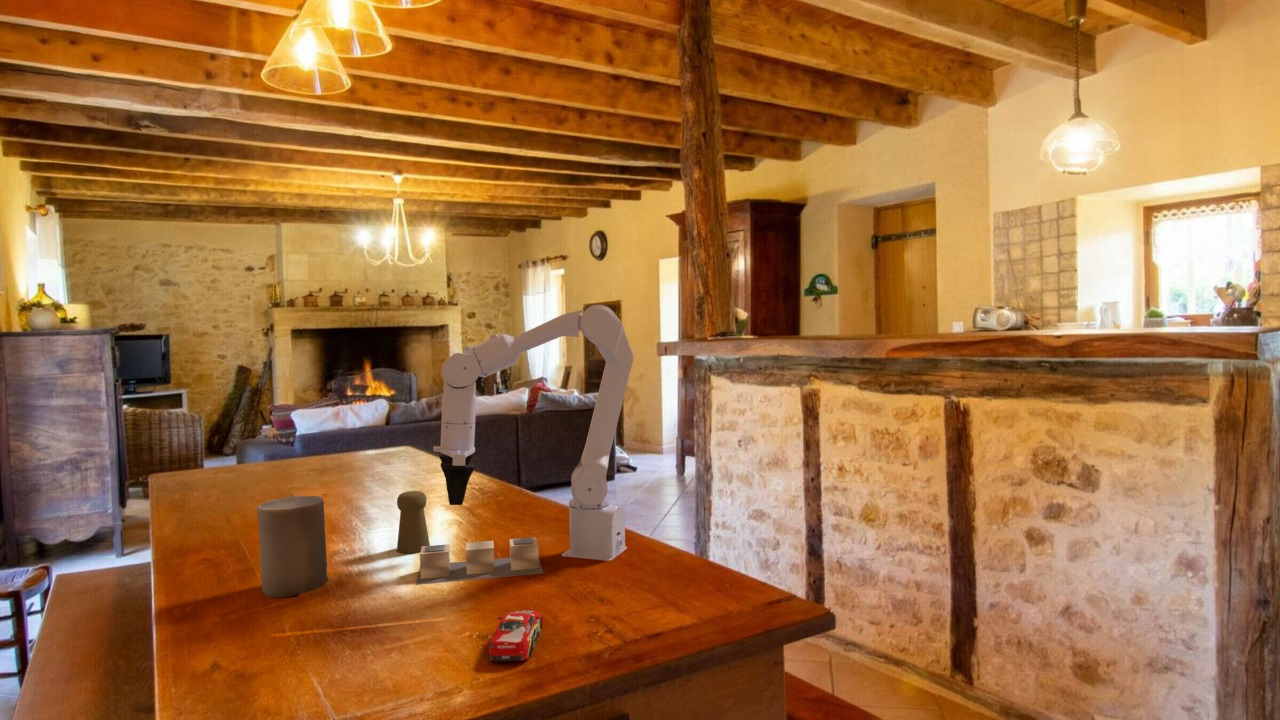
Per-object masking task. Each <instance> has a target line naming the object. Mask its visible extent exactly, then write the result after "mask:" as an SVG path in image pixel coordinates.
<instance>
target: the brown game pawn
mask: <svg viewBox="0 0 1280 720" xmlns="http://www.w3.org/2000/svg"><path fill="white" fill-rule="evenodd" d="M396 505H397V509H399V512H400V515H399V523H398V526H399V527H398V535H397V542H396V543H397V544H396V545H397V547H396V552H397V553H398V554H403V555H413V554H420V552H421V548H422V546H431V543H430V537H429V532H428V526H427V521H426V514H425V510H424V509H425V508H426V506H427V495H426V494H425V493H424V492H423V491H420V490H410V491H409V490H407V491H404V492H401V493H400V494H399V495H398V497H397V501H396Z"/></svg>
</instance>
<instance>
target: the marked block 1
mask: <svg viewBox="0 0 1280 720" xmlns="http://www.w3.org/2000/svg"><path fill="white" fill-rule="evenodd" d="M450 563H451V546H450V544H438V545H435V544H434V545H430V546H422V548H421V552H420V553H419V565H420V566H419V570H420V572H421V579H423V578H435V577H446V576H450Z"/></svg>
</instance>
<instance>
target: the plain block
mask: <svg viewBox="0 0 1280 720" xmlns="http://www.w3.org/2000/svg"><path fill="white" fill-rule="evenodd" d="M494 559H495V544H494V540H486V541H483V540H482V541H472V542H471V541H470V542H466V543H465V562H466V571H467V574H479V573H490V572H495V566H494Z"/></svg>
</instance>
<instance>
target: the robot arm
mask: <svg viewBox="0 0 1280 720" xmlns="http://www.w3.org/2000/svg"><path fill="white" fill-rule="evenodd" d="M583 311H584V309H579V310H578V309H577V310H574V311H571V312H567V313H564V314H560V315H559V316H556V317H554V318H552V319H550V320H548V321H546V322H544V323H542V324H540V325H537V326H535V327H533V328H531V329H529V330H527V331H524V332H523V333H520V334H518V335H516V336H511V335H508V334H506V333H502V334H499V335H498V333H492V334H491V335H489V339H487V340H486V341H485V340H484V341H483V342H481V343H479V344H476V345H474V346H472V347H471V345H467V346H465V347H463V350H464V352H465V353H462V352H456V353H453V354H452V355H450V356H448V357H447V358H446V359H445V360H444V361H443V364H442V366H441V375H442V378H443V380H444V382H443V384H444V385H443V395H442V401H441V402H442V405H441V406H442V407H441V427H440V429H441V430H440V446H439V445H437V446H436V445H433V449H432V450H433V452H435V453H436V452H437V453H441V454H440V455H439V457H438V458H439V459H440V461H441V463H440V468H441V470H442V472H443V475H444V478H445V485H446V492H447V497H448V499H447V500H448V502H449V505H450V506H462V505H463V503H464V500H465V496H466V494H467V493H466V492H467V488H468V484H469V481H470V478H471V476H472V474H473V472H474V471H475V468H476V465H475V464H470V461H471V460H472V457H473V456H472V454H474V453H475V452H476V447H475V436H476V435H475V434H476V433H475V432H476V431H475V430H476V410H477V409H476V408H477V395H476V389H477V388H476V387H477V386H476V385H477V384H476V383H477V382H476V381H477V380H478V378H479V377H480V378H482V379H483V378H487V377H490V376H491V375H494V374H496V373H498V372H501V371H503V370H505V369H507V368H509V367H512V366H514V365H516V364H517V363H518V362H519V360H520V356H521V354H523V353H525V352H526V351H530V350H532V349H534V348H536V347H539V346H542V345H544V344H547V343H549V342H551V341H553V340H556V339H559V338H561V337H571V338H573V337H574V338H579V337H580V332H581V333H582V335H583V336H584V337H585V338H586V339H587V340H588V341H590V342H591V343H592V344H593V345H595V346H596V347H597V350H598V352H599V353H600V355H601V356H602V357H603V360H604V361H605V365H604V369H603V374H602V377H601V379H600V381H601V382H600V385H599V389H598V393H597V398H596V401H595V405H594V408H593V413H592V417H591V421H590V425H589V429H588V433H587V436H586V437H587V438H586V441H585V445H584V448H583V452H582V455H581V457H580V461H579V463H578V464H577V466H576V467H575V468H574V470H573V471H572V473H571V477H570V482H571V486H570V494H571V495H572V498H571V499H570V500H569V501H568V507H569V508H568V509H569V513H568V514H569V517H568V518H569V549H568V550H566V551H564V552H563V553H561V554H560V555H561V557H563V558H564V557H565V558H576V559H585V560H595V561H596V560H597V561H605V562H606V561H607V562H610V561H612V560H614V559H615V558H617V557H618V556H619V555H620V554H622V553H623V552H624V551H625V550H627V549H628V547H627V546H626V527H625V526H626V523H625V521H626V520H625V519H626V518H625V512H624V509H623V507H621V506H618V505H614V504H611V503H610V501H611V500H610V498H609V497H607V495H608V491H609V488H608V482H607V473H608V469H609V462H610V454H611V450H612V447H613V443H614V439H615V438H614V437H615V434H616V431H617V426H618V423H619V418H620V414H621V410H622V407H623V402H624V399H625V395H626V390H627V387H628V383H629V378H630V373H631V371H632V370H631V369H632V366H633V362H634V354H633V351H632V348H631V346H630V343H629V340H628V337H627V334H626V331H625V329H624V325H623V322H622V321H621V319H620V318H619V317H618V316H617V314H615V312H614V311H613V310H612V309H611V308H610V307H608V306H606V305H602V304H596V305H591V306H590V307H588V308H586V309H585V311H584V312H583ZM582 312H583V313H582ZM579 331H580V332H579Z"/></svg>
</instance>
